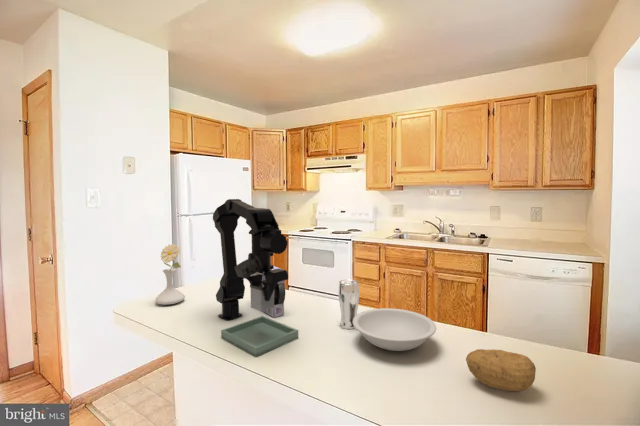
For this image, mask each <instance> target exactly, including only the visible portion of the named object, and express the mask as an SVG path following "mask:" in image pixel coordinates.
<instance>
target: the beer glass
mask: <svg viewBox="0 0 640 426" xmlns="http://www.w3.org/2000/svg"><path fill="white" fill-rule="evenodd" d="M359 284H360V283H359V281H358V280H356V279H341V280H340V281H338V302H339V307H340V313H341V315H340V323H339V327H341V328H342V329H345V330H354V329H356V328H355V327H354V326H353V318H354V317H355V316H356V315H357V314H358V308H359V303H360V287H359V286H360V285H359Z"/></svg>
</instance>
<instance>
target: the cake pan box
mask: <svg viewBox="0 0 640 426" xmlns="http://www.w3.org/2000/svg"><path fill="white" fill-rule="evenodd" d="M275 269H282V268H280V267H278V266H275V265H274V269H270V270H275ZM264 273H265V272H264ZM262 280H265V276H262ZM285 282H286V280H284V281H280V282H278V284H277V285H276V287H275V289H274V291H273V294H274V307H272V308H269V309H266V310H263V311H261V312H263V313H265V314H267V315H268V316H270V317H272V318H273V319H275V318H279V317H282V316H284V315H285V311H284V310H285V300H286V286H285V285H286V284H285Z"/></svg>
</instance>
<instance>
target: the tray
mask: <svg viewBox="0 0 640 426" xmlns="http://www.w3.org/2000/svg"><path fill="white" fill-rule="evenodd" d="M220 335H221V337H220V338H221V339H223V340H224V341H225V342H227V343H229V344H231V345H233V346H235V347H237V348H238V349H240V350H241V351H244V352H245V353H247V354H249V355H251V356H253V357H254V358H258V357H260V356H263V355H264V354H267V353H269V352H271V351H273V350H275V349H277V348H279V347H282V346H284V345H287V344H288V343H291V342H293V341H296V340H297V339H299V329H296V328H295V327H292V326H289V325H286V324H284V323H281V322H280V321H276V320H273V319H271V318H269V317H266V316H263V315H261V316H259V317H255V318H253V319H249V320H247V321H244V322H241V323H239V324H235V325H233V326H229V327H227V328H223V329H221V330H220Z"/></svg>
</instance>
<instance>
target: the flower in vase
mask: <svg viewBox="0 0 640 426" xmlns="http://www.w3.org/2000/svg"><path fill="white" fill-rule="evenodd" d="M179 254H180V247H179V246H178V245H176V244H174V243H171V244H168V245H166V246H165V247H164V248H162V250H161V251H160V260H161V261H162V262H163V264H164V265H166V266H168V267H170V268H166V269H163V270H162V272H163V273H164V275H165V279H166V286H165V288H164V290H163V291H162V292H160V294H158V295H157V296H156V297H155V300H154V302H155V303H156V304H158V305H165V306H167V305H174V304H178V303H180V302H182V301H184V299H185V298H186V296H185V294H184V293H183V292H182V291H180V290H178V289H176V288H175V287H174V281H173V280H174V273H175V271H176V270H177V269H179V268H181V264H180V262H178V261H176V262H175V260H176V259H177V257H178V256H179ZM170 262H173V263H172V265H171V264H169V263H170Z"/></svg>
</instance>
